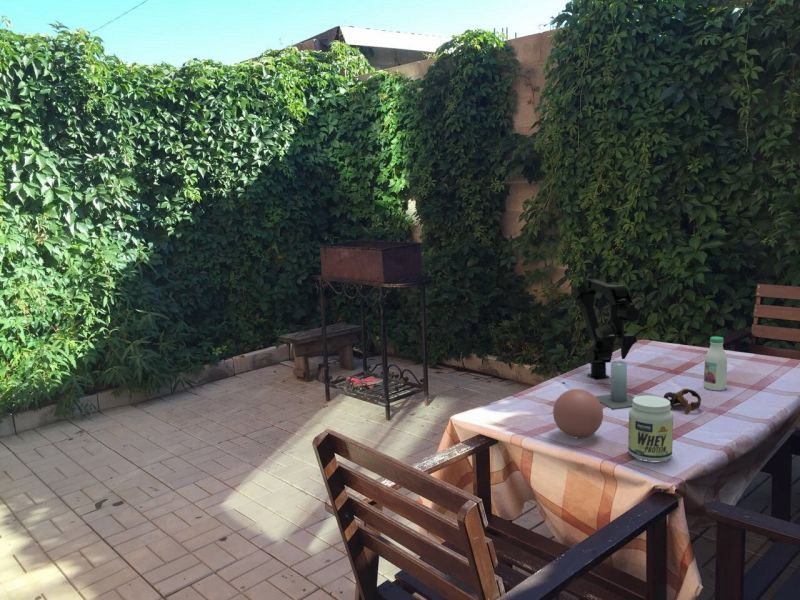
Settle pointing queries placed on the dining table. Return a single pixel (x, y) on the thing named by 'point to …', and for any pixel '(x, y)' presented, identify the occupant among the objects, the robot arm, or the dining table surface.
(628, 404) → the coaster mat
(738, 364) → the dining table surface
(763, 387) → the dining table surface
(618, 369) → the tumbler
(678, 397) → the brown black curved piece
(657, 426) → the supplement tub
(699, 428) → the dining table surface
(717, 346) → the milk bottle
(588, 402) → the brown rubber ball
